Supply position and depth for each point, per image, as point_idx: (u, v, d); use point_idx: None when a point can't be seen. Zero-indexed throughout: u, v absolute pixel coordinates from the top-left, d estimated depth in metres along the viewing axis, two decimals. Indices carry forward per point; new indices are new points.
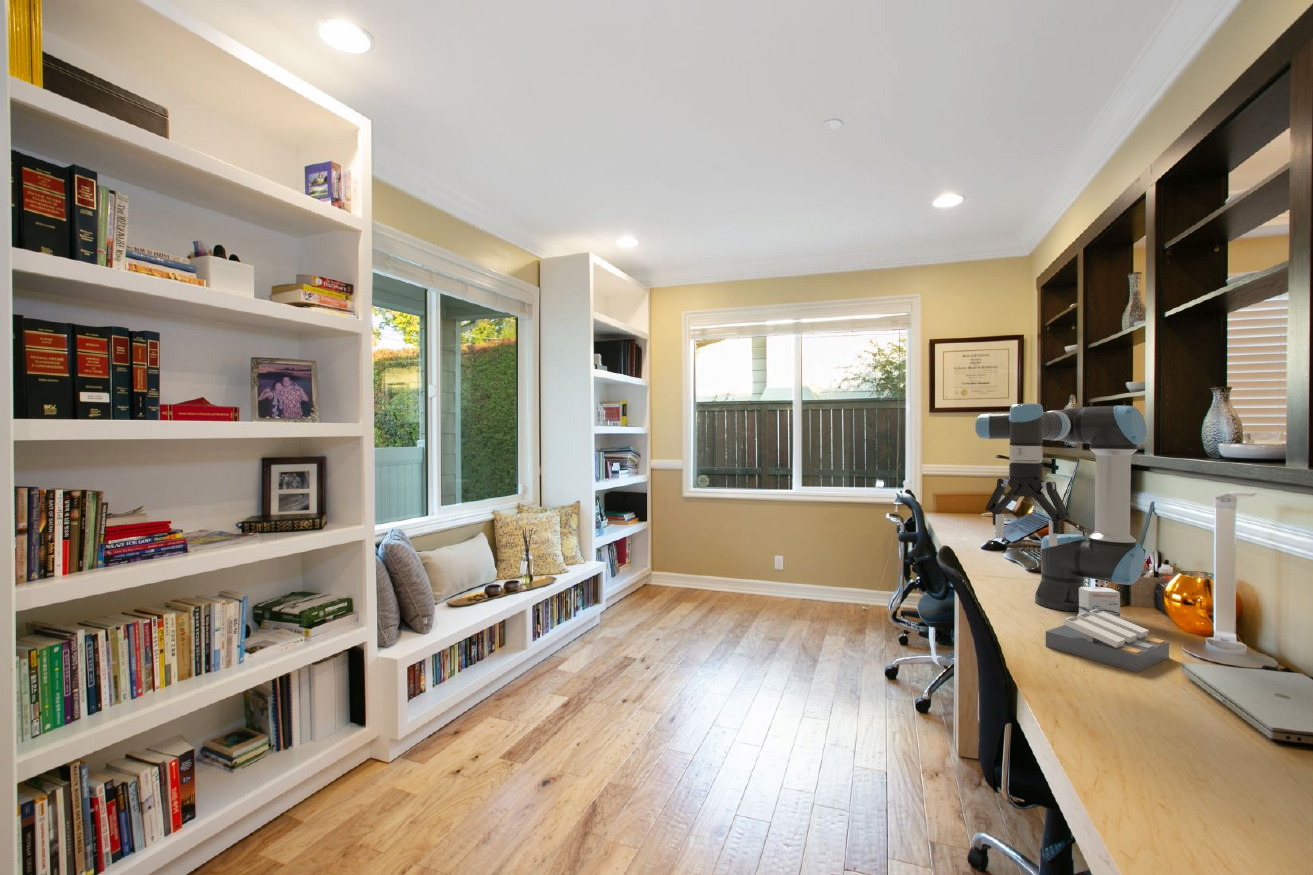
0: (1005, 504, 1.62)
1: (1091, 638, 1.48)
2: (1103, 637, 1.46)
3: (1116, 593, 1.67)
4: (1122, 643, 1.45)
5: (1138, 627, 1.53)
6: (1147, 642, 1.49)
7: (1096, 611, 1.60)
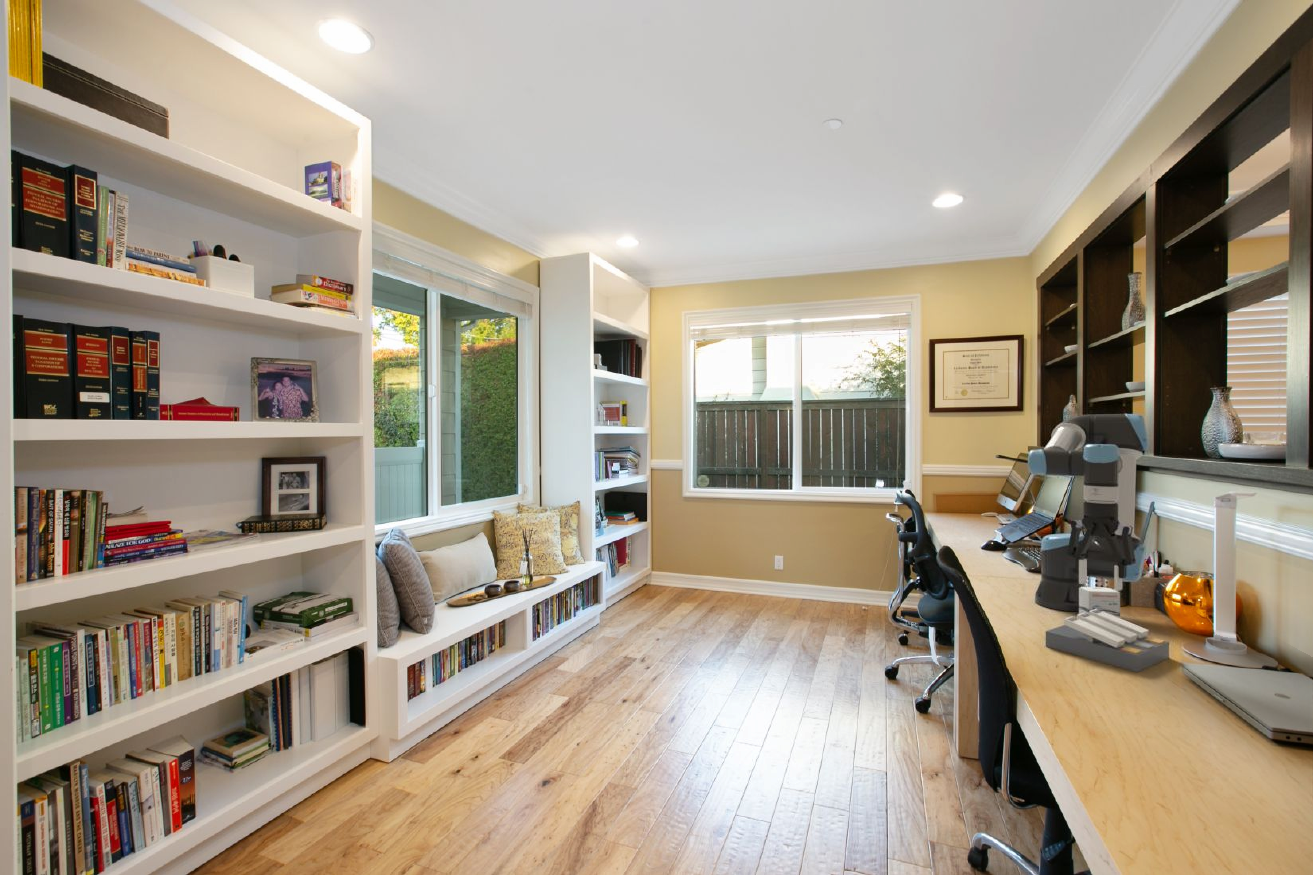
0: (1086, 547, 1.62)
1: (1091, 638, 1.48)
2: (1103, 637, 1.46)
3: (1116, 593, 1.67)
4: (1122, 643, 1.45)
5: (1138, 627, 1.53)
6: (1147, 642, 1.49)
7: (1096, 611, 1.60)
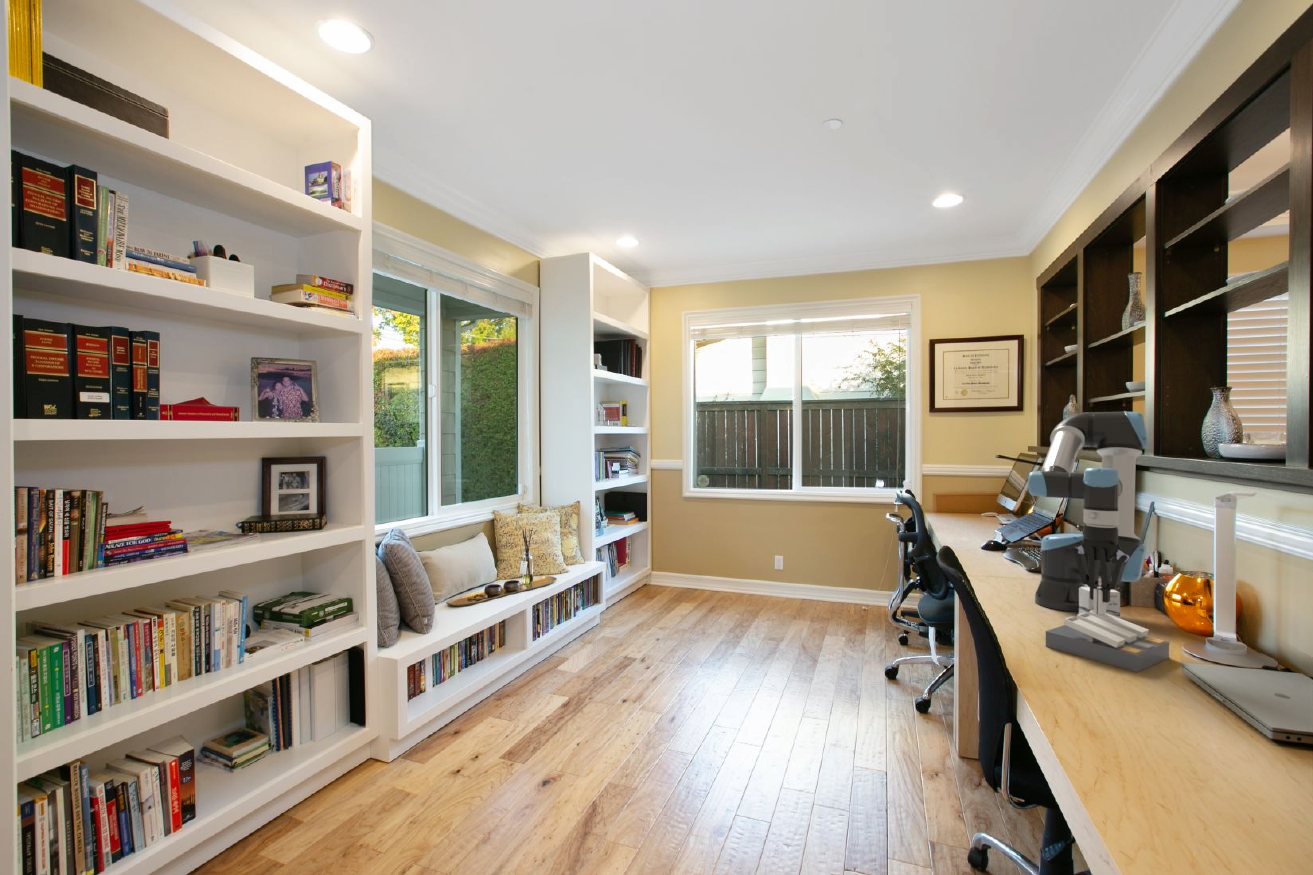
0: (1096, 573, 1.60)
1: (1091, 638, 1.48)
2: (1103, 637, 1.46)
3: (1116, 593, 1.67)
4: (1122, 643, 1.45)
5: (1138, 627, 1.53)
6: (1147, 642, 1.49)
7: None
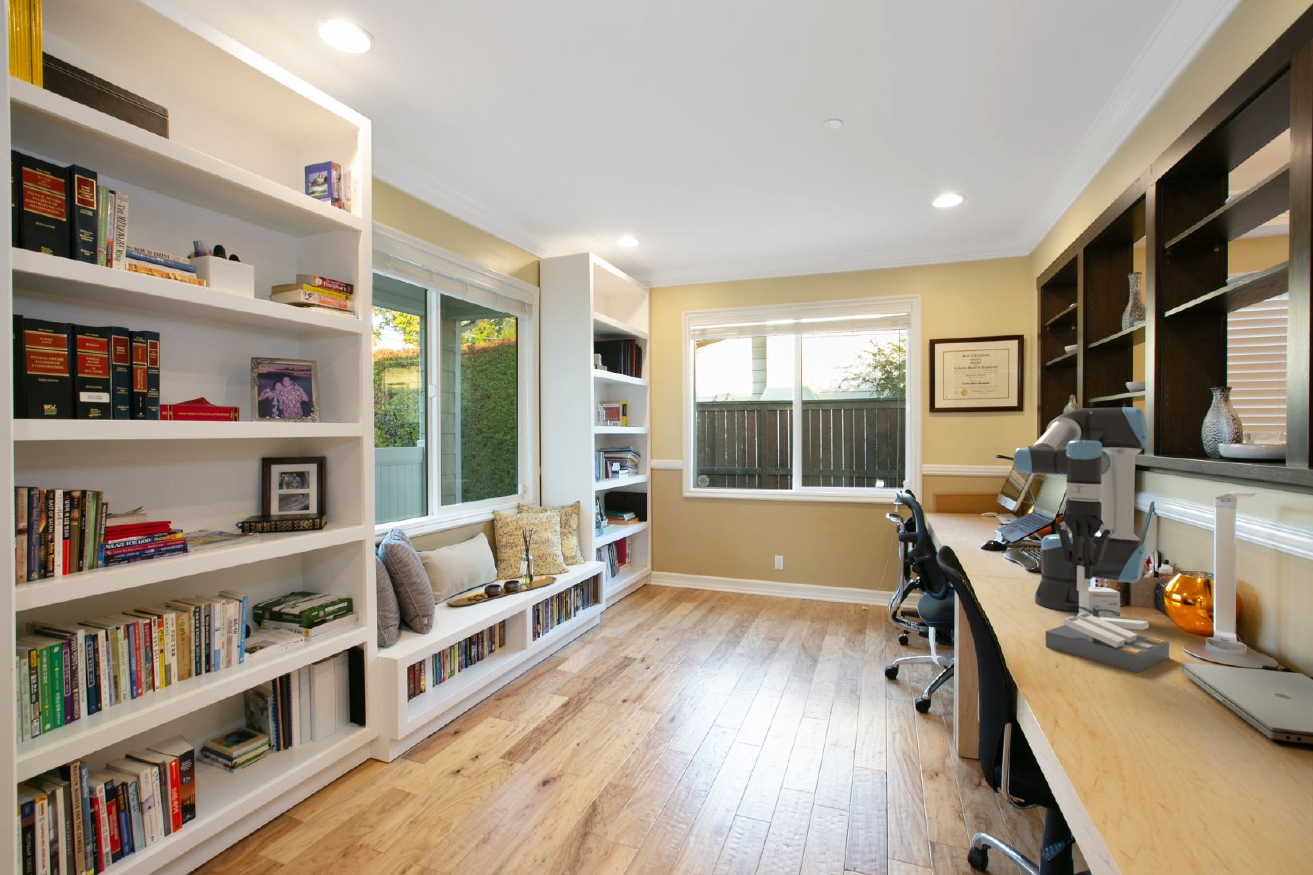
0: (1079, 549, 1.55)
1: (1091, 638, 1.48)
2: (1103, 637, 1.46)
3: (1116, 593, 1.67)
4: (1122, 643, 1.45)
5: (1137, 621, 1.53)
6: (1147, 642, 1.49)
7: None
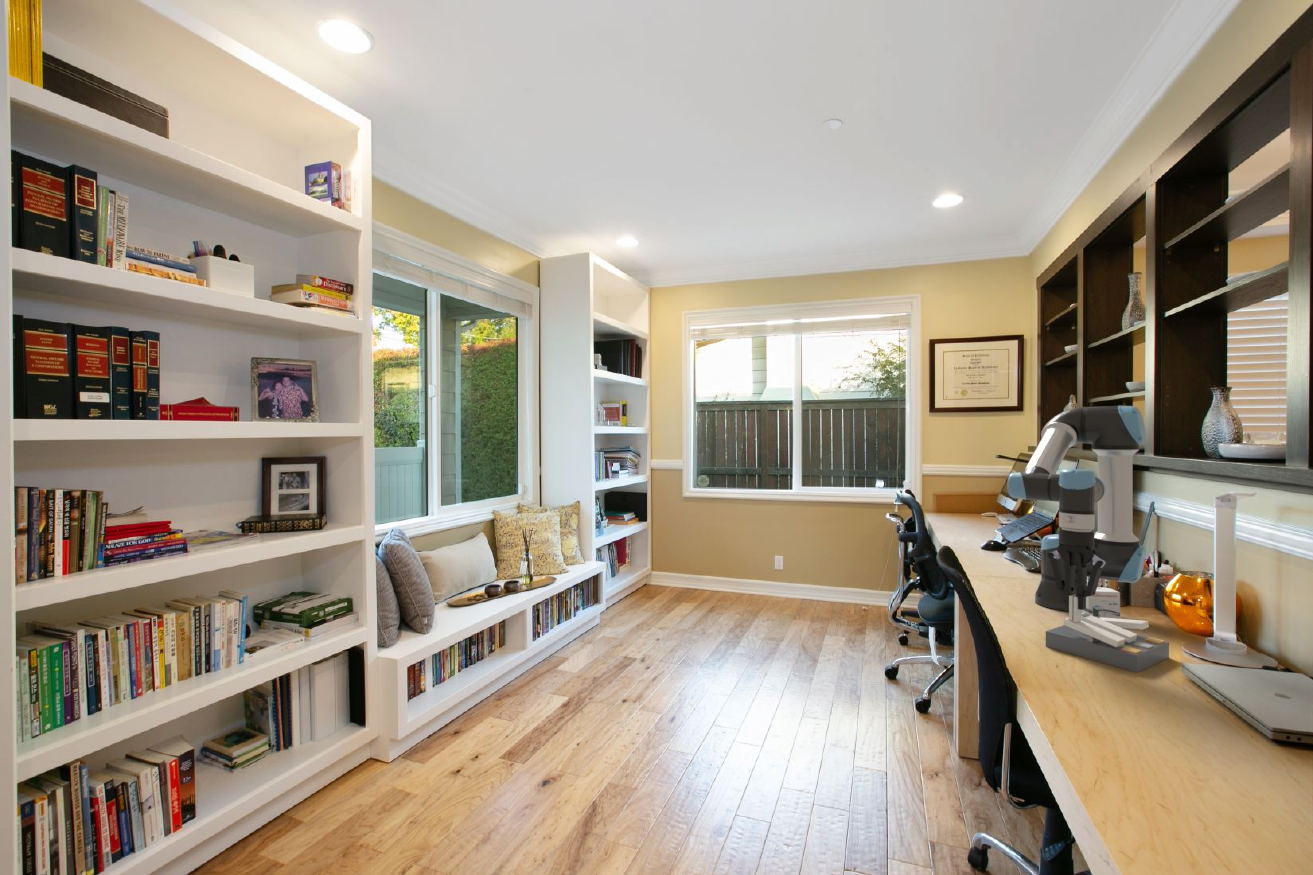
0: (1071, 579, 1.53)
1: (1091, 638, 1.48)
2: (1103, 637, 1.46)
3: (1116, 593, 1.67)
4: (1122, 643, 1.45)
5: (1137, 620, 1.53)
6: (1147, 642, 1.49)
7: None
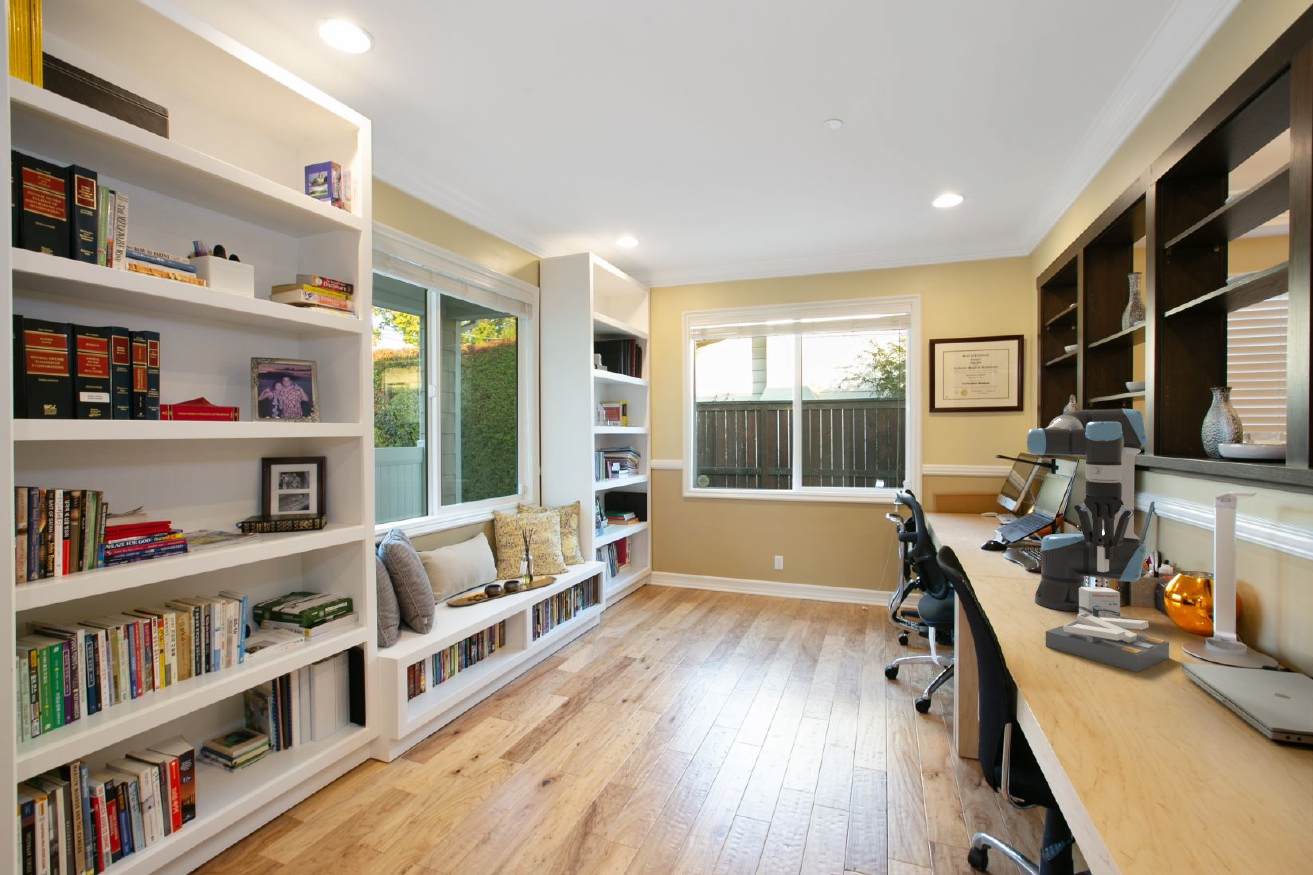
0: (1099, 530, 1.55)
1: (1091, 638, 1.48)
2: (1102, 633, 1.46)
3: (1116, 593, 1.67)
4: (1123, 636, 1.45)
5: (1137, 620, 1.53)
6: (1147, 642, 1.49)
7: None
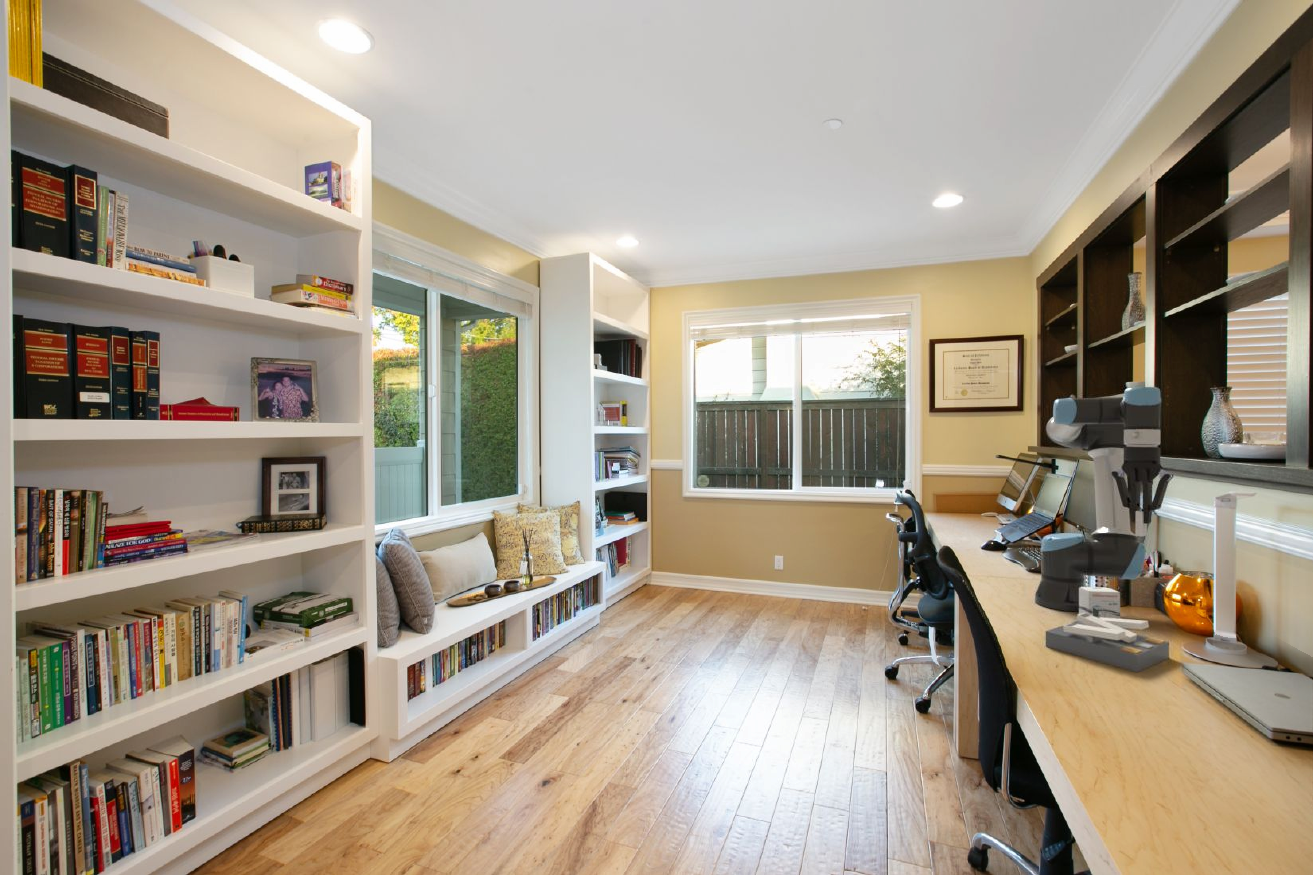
0: (1137, 495, 1.57)
1: (1091, 638, 1.48)
2: (1102, 633, 1.46)
3: (1116, 593, 1.67)
4: (1123, 635, 1.45)
5: (1137, 620, 1.53)
6: (1147, 642, 1.49)
7: None
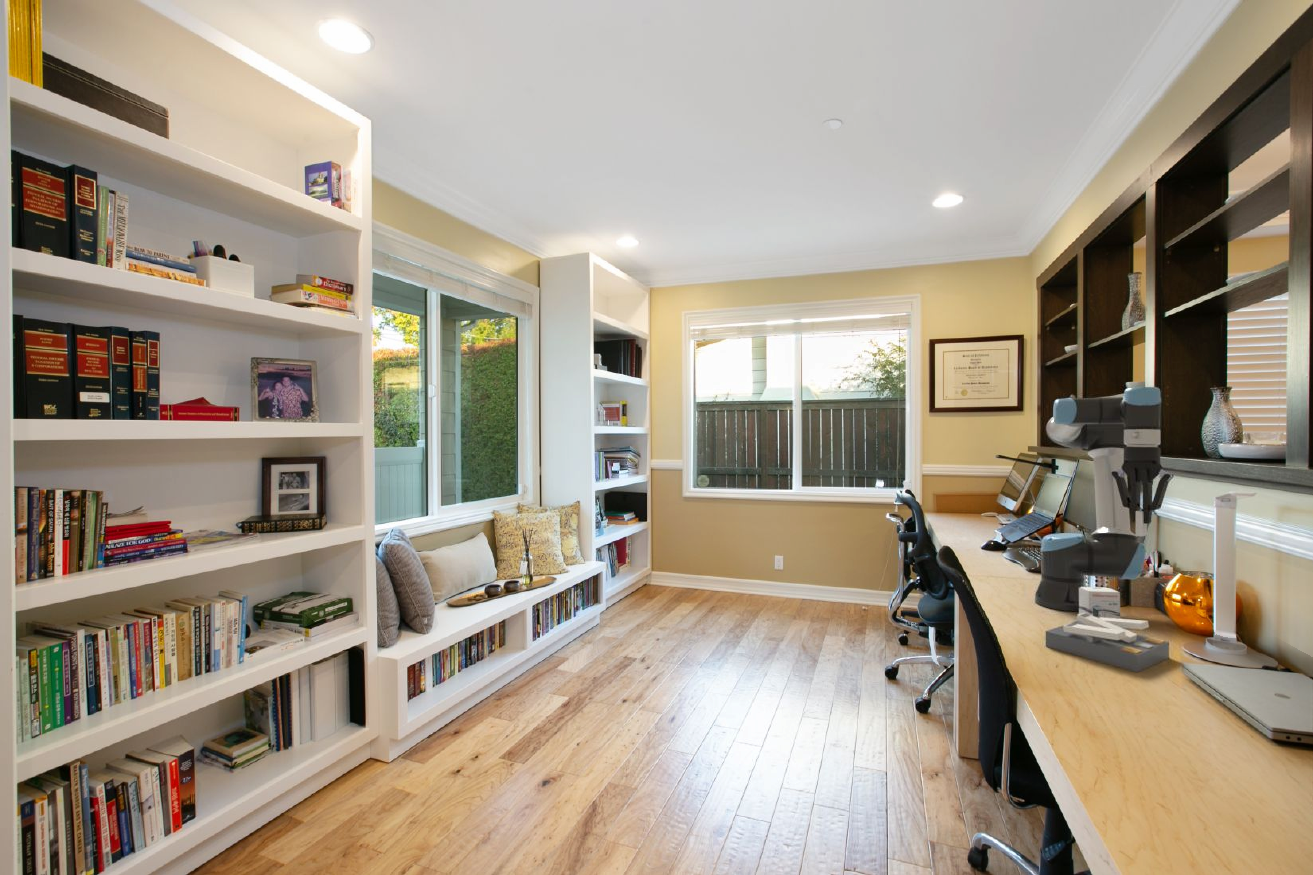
0: (1137, 495, 1.57)
1: (1091, 638, 1.48)
2: (1102, 633, 1.46)
3: (1116, 593, 1.67)
4: (1123, 635, 1.45)
5: (1137, 620, 1.53)
6: (1147, 642, 1.49)
7: None
